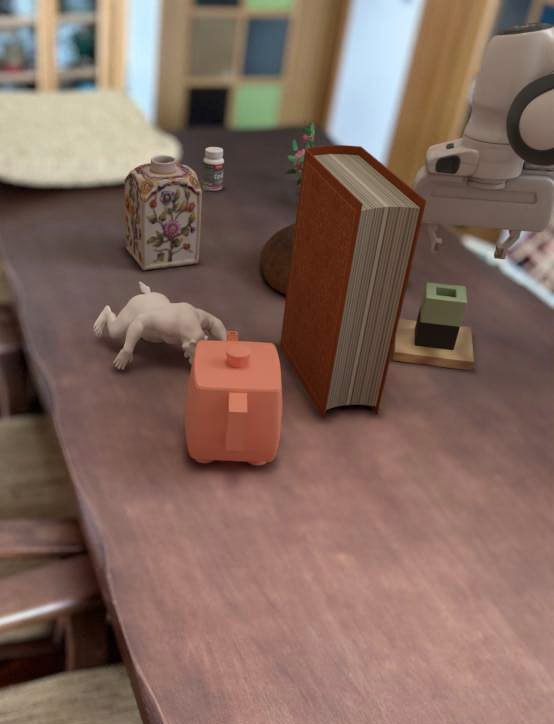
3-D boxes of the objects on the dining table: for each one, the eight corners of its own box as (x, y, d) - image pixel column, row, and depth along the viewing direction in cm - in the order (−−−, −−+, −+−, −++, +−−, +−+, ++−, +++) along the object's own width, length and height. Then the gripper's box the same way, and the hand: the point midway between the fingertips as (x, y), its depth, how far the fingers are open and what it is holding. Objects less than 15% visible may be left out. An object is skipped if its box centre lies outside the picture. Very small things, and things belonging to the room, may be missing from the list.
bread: (337, 236, 168) (345, 192, 163) (440, 284, 151) (452, 237, 146) (227, 266, 157) (230, 220, 151) (324, 322, 140) (333, 272, 134)
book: (377, 414, 118) (426, 200, 98) (322, 419, 117) (361, 203, 97) (325, 339, 135) (358, 144, 115) (277, 343, 134) (302, 146, 114)
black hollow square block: (452, 333, 134) (458, 310, 131) (453, 350, 130) (460, 327, 127) (414, 328, 135) (420, 305, 132) (414, 345, 131) (420, 322, 128)
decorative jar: (179, 242, 165) (183, 146, 154) (200, 264, 157) (205, 165, 145) (122, 248, 163) (121, 152, 151) (141, 272, 154) (141, 171, 142)
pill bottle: (215, 192, 188) (218, 153, 182) (198, 188, 190) (200, 150, 184) (226, 187, 191) (228, 148, 185) (208, 183, 193) (210, 145, 187)
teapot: (185, 397, 121) (189, 306, 112) (271, 400, 121) (283, 310, 111) (181, 487, 104) (185, 390, 95) (281, 492, 104) (295, 395, 95)
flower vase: (320, 263, 177) (274, 175, 197) (375, 244, 176) (324, 157, 196) (315, 216, 167) (268, 129, 187) (374, 196, 166) (320, 110, 186)
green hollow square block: (459, 310, 131) (465, 286, 129) (460, 327, 127) (467, 302, 124) (420, 305, 132) (426, 281, 130) (420, 322, 128) (426, 297, 125)
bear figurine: (83, 378, 132) (173, 388, 118) (71, 291, 127) (163, 292, 113) (158, 355, 142) (248, 362, 129) (149, 274, 137) (242, 273, 123)
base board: (468, 335, 137) (482, 286, 131) (471, 370, 128) (486, 319, 122) (394, 326, 139) (405, 278, 133) (392, 360, 130) (404, 310, 124)
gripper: (567, 156, 116) (536, 253, 125) (417, 146, 120) (398, 241, 129) (573, 170, 111) (541, 269, 120) (417, 159, 115) (397, 256, 124)
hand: (466, 254), depth 124 cm, fingers open, 8 cm apart
